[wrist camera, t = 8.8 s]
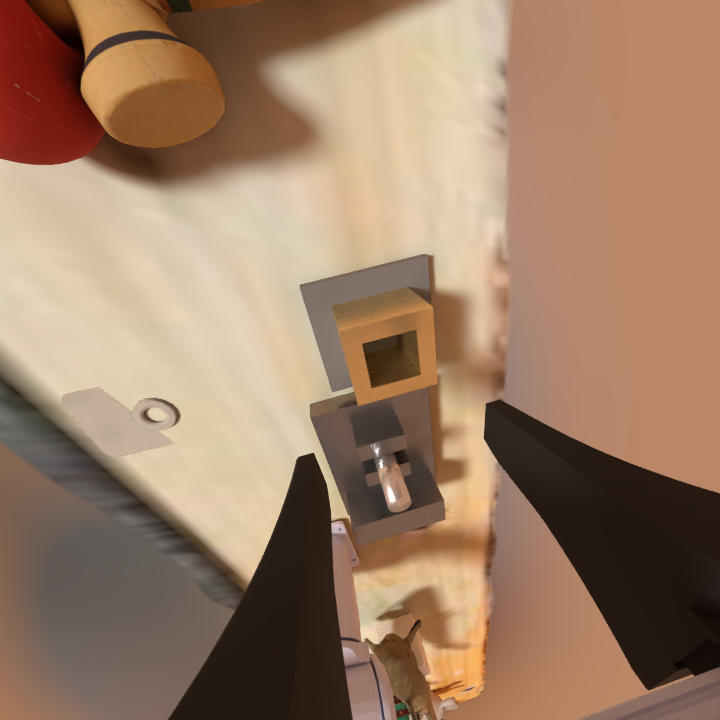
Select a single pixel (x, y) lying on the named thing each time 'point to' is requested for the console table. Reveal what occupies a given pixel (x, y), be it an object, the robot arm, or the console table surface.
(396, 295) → the wooden hollow block
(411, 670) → the wood carving
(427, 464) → the gray fixture base
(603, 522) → the robot arm
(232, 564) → the console table surface
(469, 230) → the console table surface
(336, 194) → the console table surface
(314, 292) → the rubber mat
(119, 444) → the mounting bracket
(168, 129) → the kendama
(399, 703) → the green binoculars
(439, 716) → the bunny figurine
